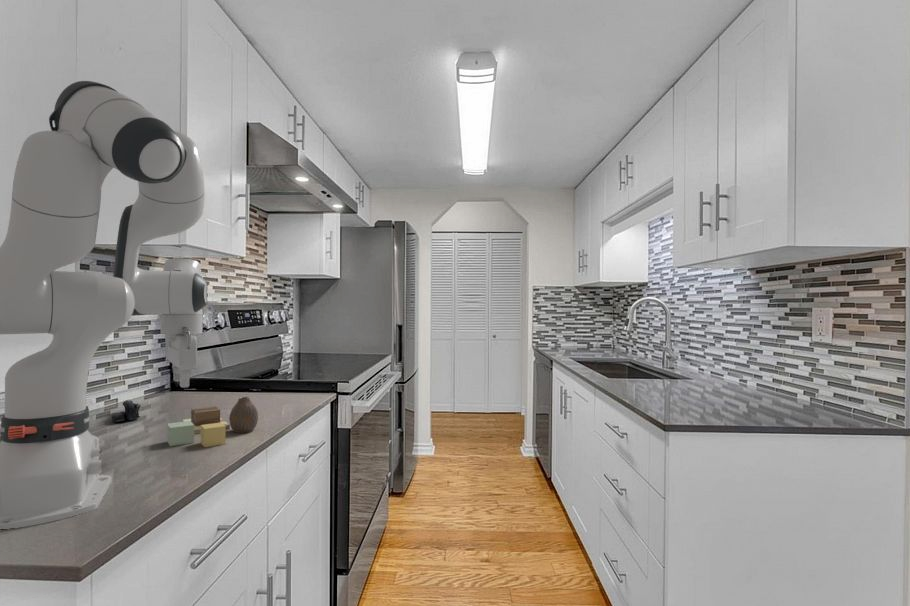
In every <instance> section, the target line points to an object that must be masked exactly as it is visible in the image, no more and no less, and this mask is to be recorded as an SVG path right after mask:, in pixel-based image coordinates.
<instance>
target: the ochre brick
mask: <svg viewBox="0 0 910 606" xmlns="http://www.w3.org/2000/svg"><path fill="white" fill-rule="evenodd" d="M200 444H201V445H202V447H204V448H208V447H214V446H221V445H222V446H223V445H226V426H225V425H224V424H222V423H213V424H205V425H201V433H200Z"/></svg>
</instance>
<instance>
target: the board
mask: <svg viewBox="0 0 910 606" xmlns="http://www.w3.org/2000/svg"><path fill="white" fill-rule="evenodd" d="M185 421H191V418H186V419H185V418H184V419H182V421H181V422H185ZM220 423H222V424H224V425H225V426H226V430H227V431H228V430H230V429H231V426H230V423H228V422H227V421H225V420H224V419H223V418H221V417H220ZM198 434H201V425H200V426H195V425H194V435H198Z"/></svg>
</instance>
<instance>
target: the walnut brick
mask: <svg viewBox="0 0 910 606" xmlns="http://www.w3.org/2000/svg"><path fill="white" fill-rule="evenodd" d="M220 418H221V409H220V408H218V407H217V406H216V405H213V406H204V407H197V408H195V407H193V408H191V409H190V419H191V422H192V423H193V424H194V425H195V426H200V425H205V424H213V423H220Z"/></svg>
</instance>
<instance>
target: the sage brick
mask: <svg viewBox="0 0 910 606" xmlns="http://www.w3.org/2000/svg"><path fill="white" fill-rule="evenodd" d="M166 442H167V444H168V445H169V447H173V446H182V445H187V444H193V443H195V434H194V424H193V423H192V422H191V421H185V422H182V421H178V422H169V423H166Z"/></svg>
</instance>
